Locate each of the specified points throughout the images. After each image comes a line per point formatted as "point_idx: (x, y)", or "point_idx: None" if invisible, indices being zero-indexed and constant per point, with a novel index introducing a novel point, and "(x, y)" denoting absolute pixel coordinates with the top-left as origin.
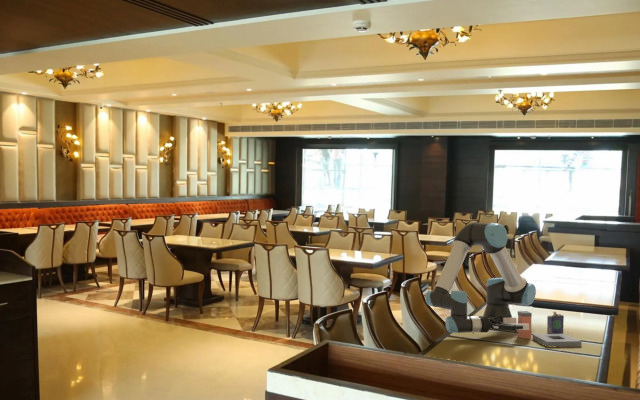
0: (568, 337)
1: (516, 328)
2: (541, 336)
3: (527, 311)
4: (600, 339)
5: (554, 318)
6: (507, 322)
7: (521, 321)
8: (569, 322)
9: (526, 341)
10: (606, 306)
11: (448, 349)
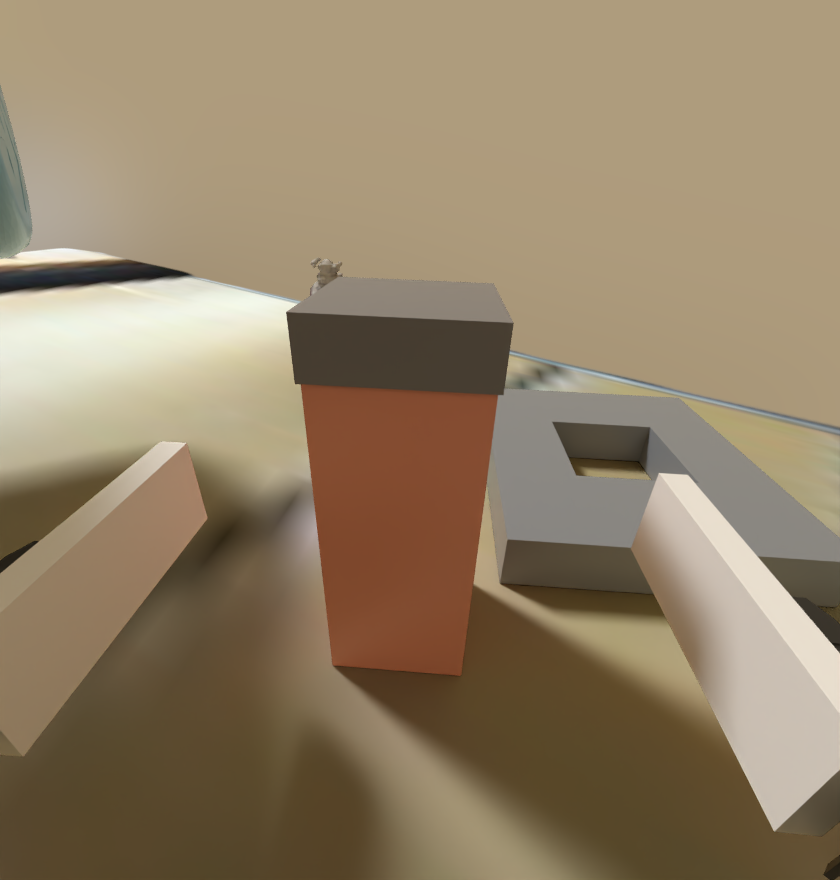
0: (588, 405)
1: None
2: (599, 511)
3: (367, 279)
4: None
5: None
6: (96, 636)
7: (457, 482)
8: (188, 324)
9: (598, 689)
10: (119, 261)
11: None
